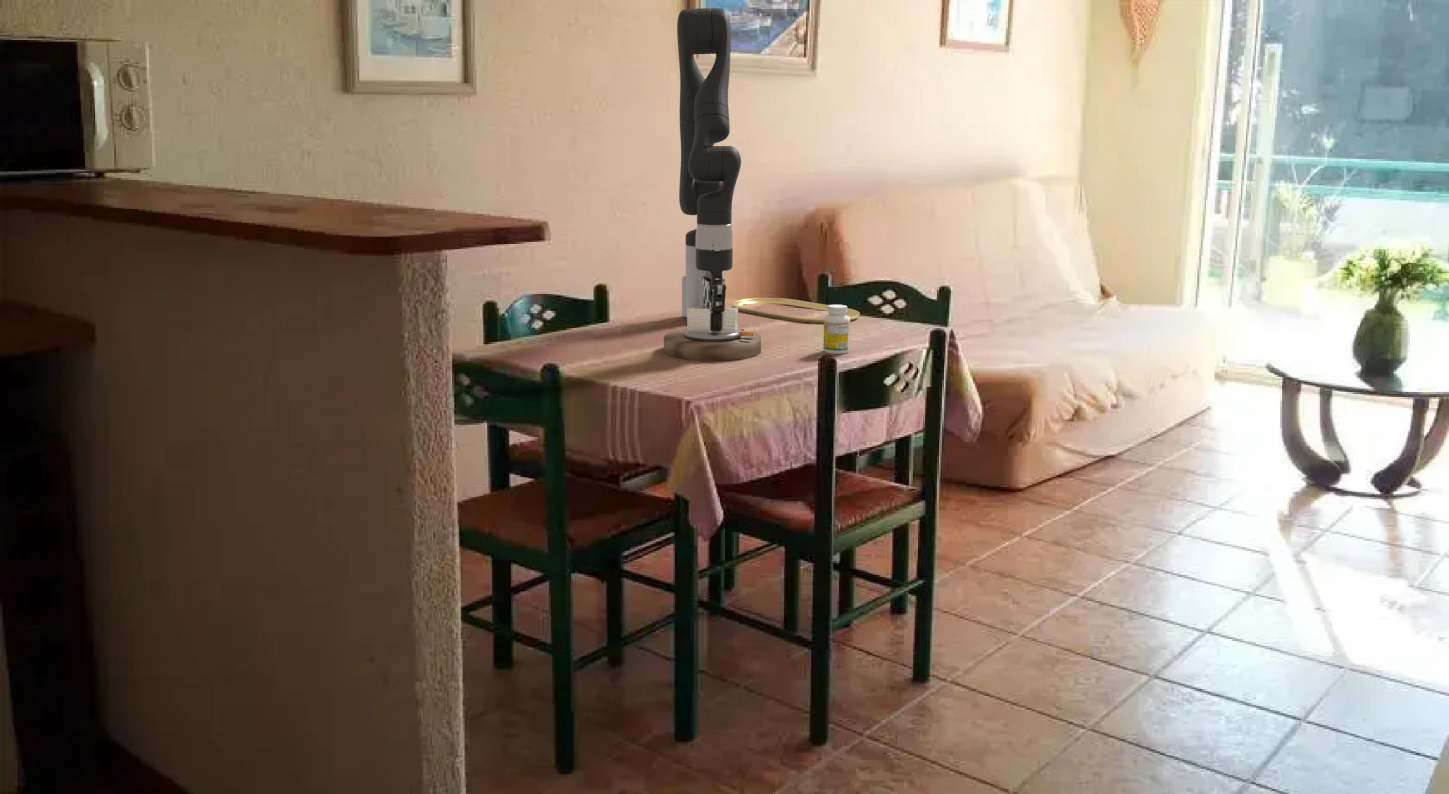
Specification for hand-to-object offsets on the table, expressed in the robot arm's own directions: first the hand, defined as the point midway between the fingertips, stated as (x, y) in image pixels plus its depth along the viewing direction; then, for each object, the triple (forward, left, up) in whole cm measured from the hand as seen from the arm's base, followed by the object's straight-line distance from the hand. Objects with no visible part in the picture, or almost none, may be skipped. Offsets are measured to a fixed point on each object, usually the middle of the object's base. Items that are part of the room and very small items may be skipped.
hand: (713, 328), depth 265 cm
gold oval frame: (-14, +50, -5) cm, 52 cm away
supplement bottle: (+20, +16, -5) cm, 26 cm away
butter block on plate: (+1, +1, -1) cm, 2 cm away
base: (0, 0, -5) cm, 5 cm away
